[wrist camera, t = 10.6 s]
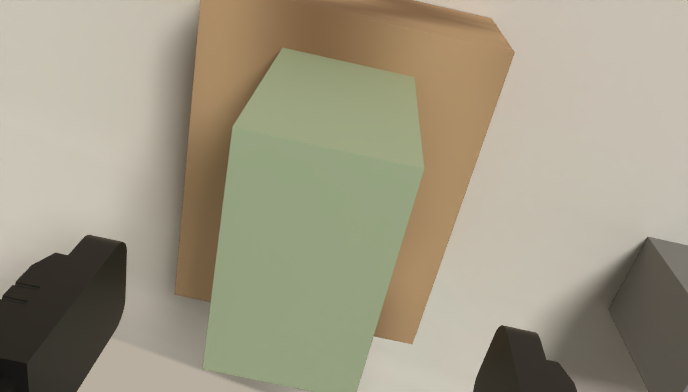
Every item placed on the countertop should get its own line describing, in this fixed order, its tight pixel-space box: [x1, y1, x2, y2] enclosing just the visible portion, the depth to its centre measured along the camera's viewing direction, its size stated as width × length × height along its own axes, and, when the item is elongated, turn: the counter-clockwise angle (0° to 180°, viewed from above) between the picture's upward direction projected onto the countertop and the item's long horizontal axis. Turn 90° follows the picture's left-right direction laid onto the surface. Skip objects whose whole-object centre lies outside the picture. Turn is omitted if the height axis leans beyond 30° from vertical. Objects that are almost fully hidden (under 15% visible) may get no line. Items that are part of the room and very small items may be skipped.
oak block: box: [175, 0, 515, 344], centre depth 19 cm, size 8×10×4 cm
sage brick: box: [203, 48, 424, 392], centre depth 14 cm, size 6×4×6 cm, turn 168°
